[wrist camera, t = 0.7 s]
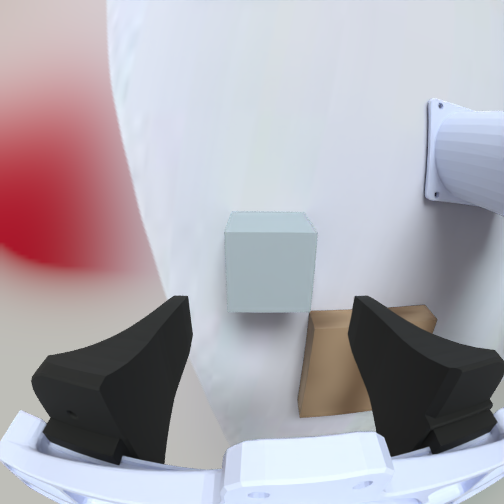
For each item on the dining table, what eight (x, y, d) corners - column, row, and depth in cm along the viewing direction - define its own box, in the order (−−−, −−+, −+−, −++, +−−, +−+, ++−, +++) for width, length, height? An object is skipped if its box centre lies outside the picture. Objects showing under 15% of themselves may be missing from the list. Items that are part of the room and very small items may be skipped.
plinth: (424, 304, 23) (437, 319, 20) (394, 389, 27) (401, 404, 24) (309, 311, 23) (314, 328, 21) (297, 399, 27) (299, 417, 24)
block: (303, 211, 20) (317, 232, 16) (299, 276, 22) (310, 312, 17) (232, 211, 20) (224, 232, 16) (233, 276, 22) (227, 312, 17)
